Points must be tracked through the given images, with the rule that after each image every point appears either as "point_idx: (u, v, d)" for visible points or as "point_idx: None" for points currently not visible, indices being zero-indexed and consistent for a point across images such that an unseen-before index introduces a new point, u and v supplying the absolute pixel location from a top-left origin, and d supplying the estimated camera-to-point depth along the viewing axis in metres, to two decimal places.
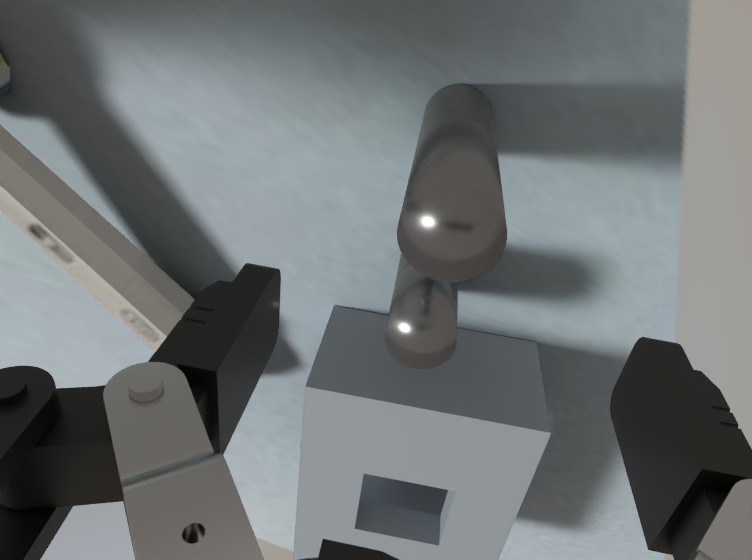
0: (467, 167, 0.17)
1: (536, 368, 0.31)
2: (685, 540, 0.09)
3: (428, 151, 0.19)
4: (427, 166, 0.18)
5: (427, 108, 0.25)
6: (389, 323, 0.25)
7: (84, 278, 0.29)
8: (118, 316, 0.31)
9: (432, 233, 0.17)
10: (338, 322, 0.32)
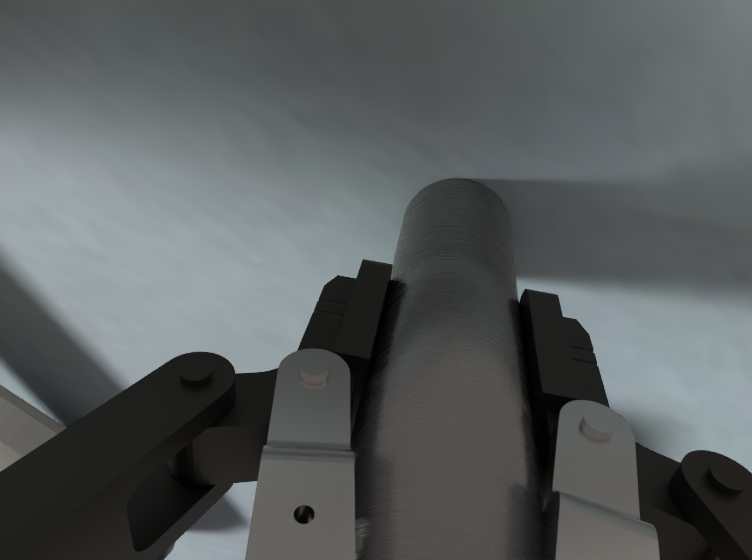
0: (468, 475, 0.08)
1: None
2: None
3: (390, 379, 0.10)
4: (382, 449, 0.08)
5: (406, 220, 0.16)
6: None
7: None
8: None
9: None
10: None
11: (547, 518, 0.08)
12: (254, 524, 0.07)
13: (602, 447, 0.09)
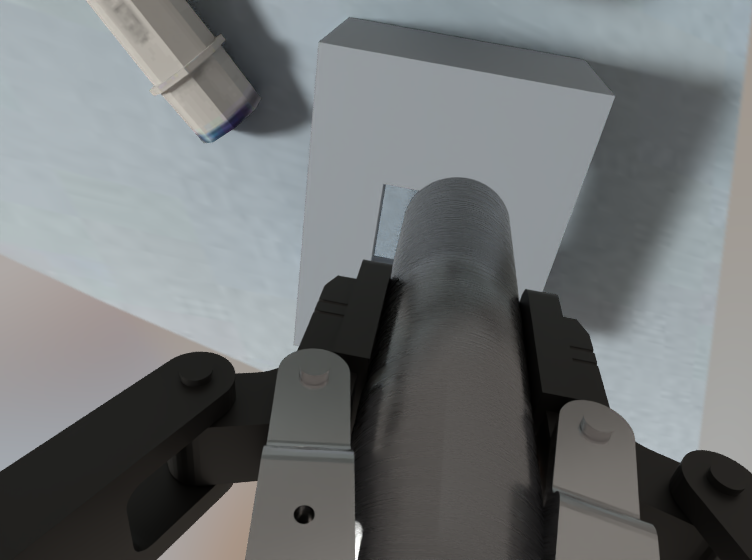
0: (468, 472, 0.08)
1: (588, 69, 0.26)
2: None
3: (391, 376, 0.10)
4: (382, 447, 0.08)
5: (406, 218, 0.16)
6: None
7: None
8: (100, 2, 0.26)
9: None
10: (354, 24, 0.27)
11: (547, 518, 0.08)
12: (254, 524, 0.07)
13: (602, 447, 0.09)
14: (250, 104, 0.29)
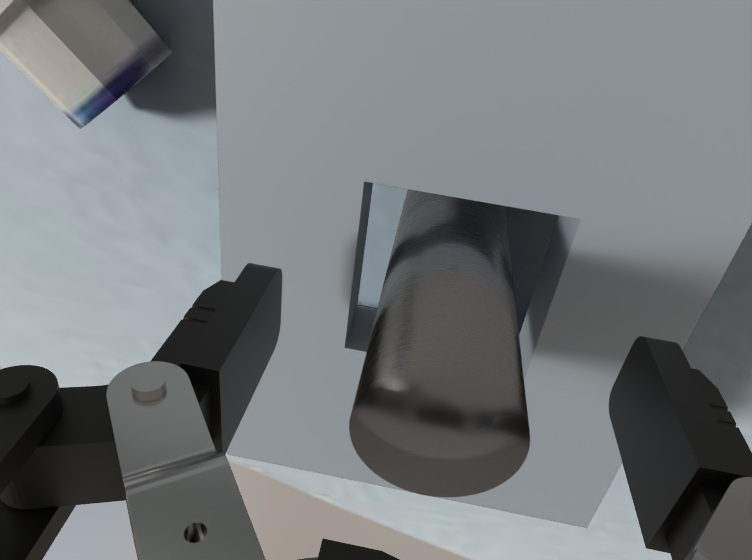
0: (465, 318, 0.10)
1: None
2: (683, 538, 0.09)
3: (406, 270, 0.12)
4: (402, 308, 0.11)
5: None
6: None
7: None
8: None
9: (406, 432, 0.10)
10: None
11: None
12: None
13: None
14: (146, 58, 0.17)
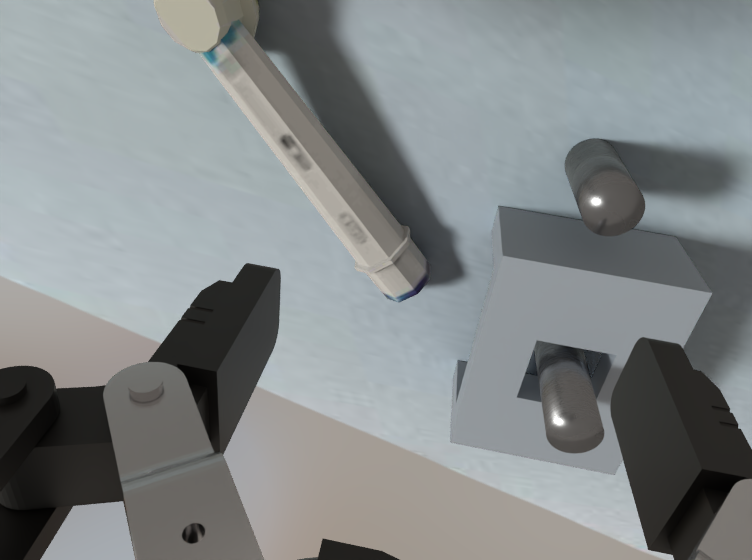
0: (582, 396, 0.33)
1: (683, 253, 0.36)
2: (686, 540, 0.09)
3: (554, 374, 0.35)
4: (559, 391, 0.34)
5: None
6: (589, 193, 0.30)
7: (316, 184, 0.35)
8: (336, 220, 0.36)
9: (565, 432, 0.33)
10: (507, 216, 0.37)
11: None
12: None
13: None
14: (428, 275, 0.40)
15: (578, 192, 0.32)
